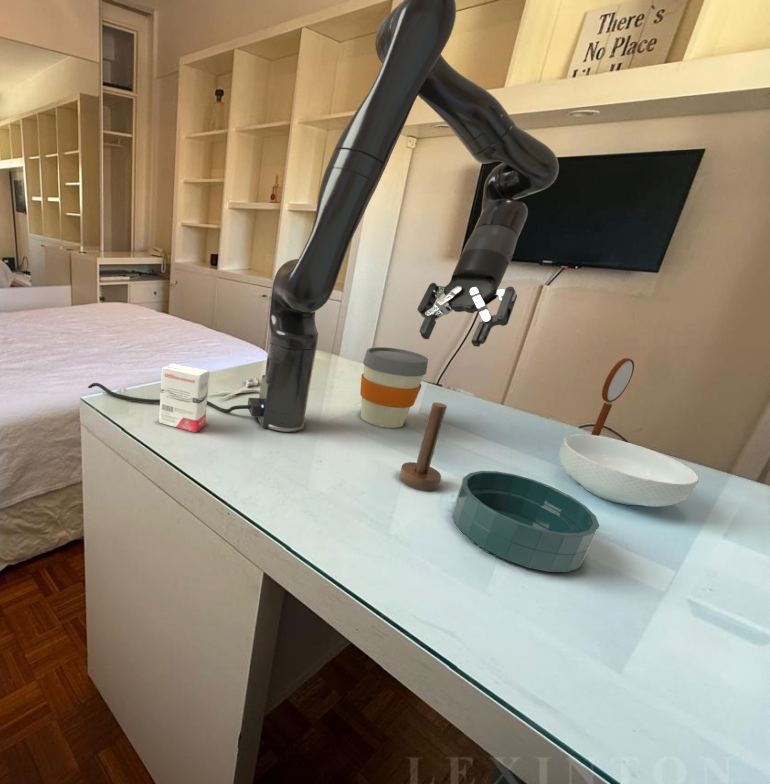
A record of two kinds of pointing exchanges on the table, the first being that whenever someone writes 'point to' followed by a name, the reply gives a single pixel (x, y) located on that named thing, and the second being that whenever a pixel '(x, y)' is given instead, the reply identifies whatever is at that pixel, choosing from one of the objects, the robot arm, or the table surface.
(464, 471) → the table surface
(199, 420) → the ink box
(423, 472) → the wooden peg stand
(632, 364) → the magnifying glass
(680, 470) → the cereal bowl
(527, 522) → the mixing bowl
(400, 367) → the reusable coffee cup
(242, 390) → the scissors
